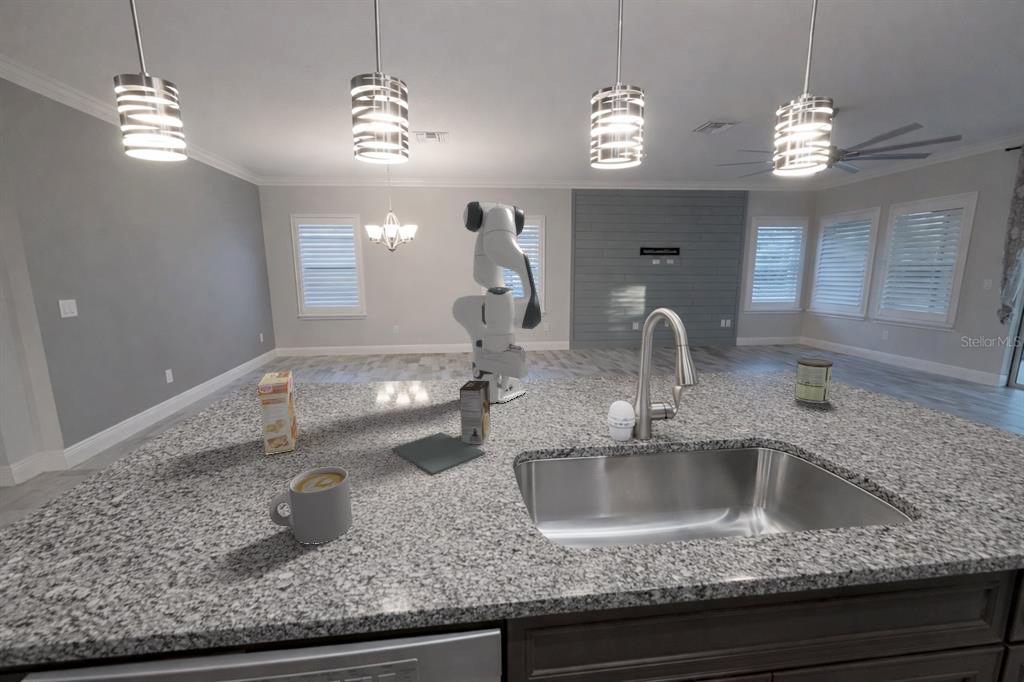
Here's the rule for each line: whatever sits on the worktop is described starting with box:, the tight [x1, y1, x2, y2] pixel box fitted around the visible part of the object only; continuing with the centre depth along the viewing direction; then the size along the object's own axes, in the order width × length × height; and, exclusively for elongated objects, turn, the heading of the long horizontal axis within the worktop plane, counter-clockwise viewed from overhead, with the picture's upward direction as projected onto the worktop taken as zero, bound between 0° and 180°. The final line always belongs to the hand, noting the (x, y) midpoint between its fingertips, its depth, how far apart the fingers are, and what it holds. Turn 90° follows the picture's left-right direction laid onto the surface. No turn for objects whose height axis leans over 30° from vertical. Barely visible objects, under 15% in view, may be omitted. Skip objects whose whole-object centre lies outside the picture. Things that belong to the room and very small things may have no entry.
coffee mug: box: [268, 466, 353, 544], centre depth 77 cm, size 13×10×10 cm
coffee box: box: [459, 380, 492, 445], centre depth 119 cm, size 9×6×16 cm
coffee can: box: [793, 357, 834, 404], centre depth 149 cm, size 10×10×14 cm
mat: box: [391, 431, 485, 476], centre depth 111 cm, size 16×20×1 cm
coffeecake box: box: [257, 370, 298, 454], centre depth 117 cm, size 15×7×20 cm, turn 23°
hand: (501, 388), depth 125 cm, fingers closed
